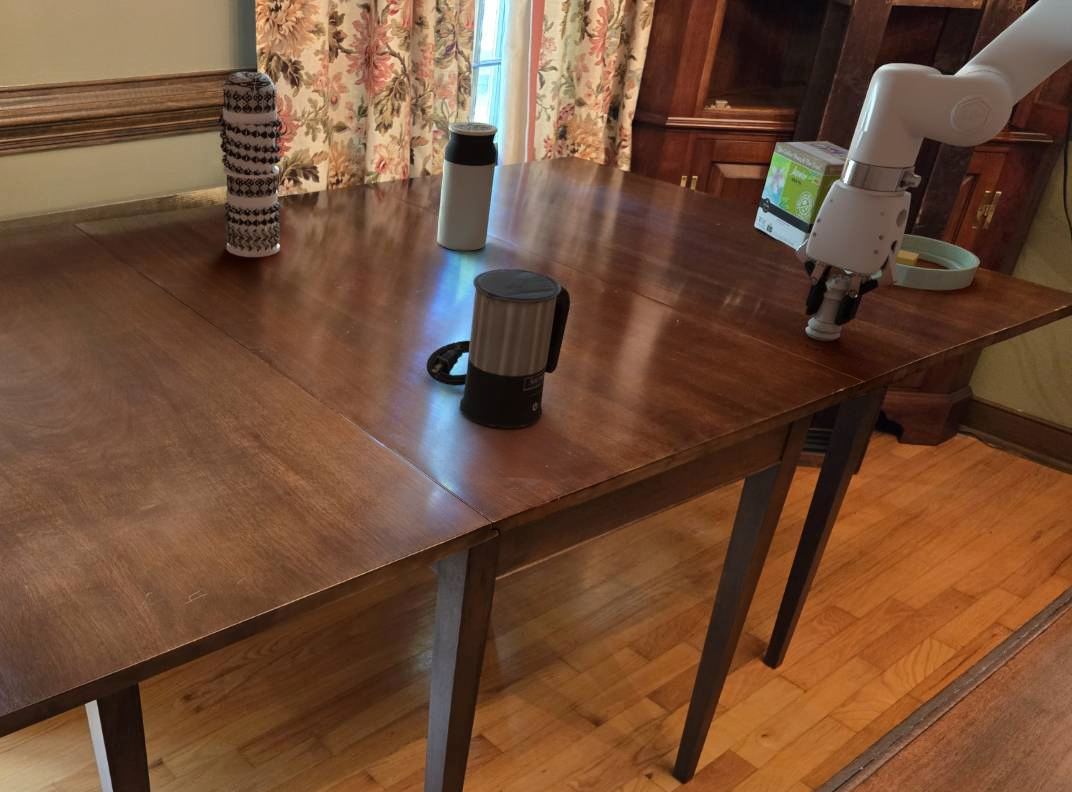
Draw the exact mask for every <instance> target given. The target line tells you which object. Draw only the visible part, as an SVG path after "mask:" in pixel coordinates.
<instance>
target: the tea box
mask: <svg viewBox="0 0 1072 792" xmlns="http://www.w3.org/2000/svg"><path fill="white" fill-rule="evenodd" d="M775 143H776V144H775V146H774V151H773V153H772V156H771V157H772V158H771V162H770V166H769V170H768V173H767V176H766V180H765V185H764V188H763V191H762V195H761V199H760V202H759V207H758V209H757V213H756V217H755V221H754V228H756V229H758V230H760V231H762V232H764V233H766V234H767V235H768V236H770V237H771V238H773V239H775V240H776V241H780V242H782V243H784V244H785V245H787V246H788V247H791V248H793V249H794V250H795V251H796V250H797V249H798V248H799V247H800V246H801V245H802V244H803V243H804V242H805V241H806V240H807V239H808V238H809V237H810V234H811V231H812V228H813V225H814V223H815V220H816V218H817V215H818V213H819V211H820V208H821V206H822V204H823V202H824V200H825V198H826V196H827V194H828V192H829V190H830V189H831V187H832V185H833V183H834V182H835V181H836V180H839V179H840V177H841V174H842V171H843V168H844V165H845V161H846V158H847V156H848V152H849V149H846V148H843V147H841V146H839V145H837V144H835V143H832V142H829V141H828V140H824V141H823V140H822V141H788V142H787V141H785V142H784V141H783V142H780V141H777V142H775Z"/></svg>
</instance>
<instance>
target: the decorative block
mask: <svg viewBox="0 0 1072 792" xmlns="http://www.w3.org/2000/svg"><path fill="white" fill-rule="evenodd" d="M918 257H919V254H918V253H913V252H908V251H903V250H899V253H898V256H897V258H896V261H895V263H898V264H902V265H907V266H912V267H916V264H917V262H918V259H919V258H918Z"/></svg>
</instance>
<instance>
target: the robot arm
mask: <svg viewBox="0 0 1072 792" xmlns="http://www.w3.org/2000/svg"><path fill="white" fill-rule="evenodd" d="M1070 61H1072V0H1038V1H1036V2H1035V4H1033V5H1032V6H1031V7H1030V8H1029V9H1028V10H1026V11H1025V12H1024V13H1023V14H1021V15H1020V16H1019V17H1018V18H1017V19H1016V20H1014V22H1013V23H1011V24H1010V25H1008V27H1007V28H1006V29H1005V30H1003V31H1002V32H1001V33H1000V34H999V35H998V36H996V37H995V38H994V39H993V40H992V41H991V42H990V43H988V44H987V45H986V46H985V47H984V48H983V49H982V50H980V51H979V52H978V53H977V54H976V55H975V56H974V57H972V59H970V60H969V61H968V62H967V63H966V64H965V65H964V66H963V67H961V68H960V69H959V70H958V71H957V72H956V73H955V74H953V75H952V74H951V75H950V74H942V72H941V71H940V70H938V69H937V68H935V67H931V66H927V65H922V64H917V63H915V64H914V63H903V62H901V63H900V62H899V63H897V62H896V63H895V62H894V63H887V64H883V65H881V66H880V67H878V68H877V69H876V71H875V72H874V73H873V75H872V77H871V80H870V83H869V85H868V89H867V92H866V96H865V98H864V101H863V105H862V108H861V111H860V113H859V118H858V121H857V124H856V127H855V131H854V133H853V137H852V140H851V143H850V146H849V149H848V151H849V152H848V156H847V158H846V161H845V165H844V168H843V171H842V174H841V177H840V179H839V180H836V181H835V182H834V183H833V185H832V187H831V189H830V190H829V192H828V194H827V196H826V198H825V200H824V202H823V204H822V206H821V208H820V211H819V213H818V215H817V218H816V220H815V223H814V225H813V228H812V231H811V234H810V237H809V238H808V239H807V240H806V241H805V242H804V243H803V244H802V245H801V246H800V247H799V248H798V249H797V250H796V249H795V251H794V255H795V257H796V259H798V260H799V262H800V263H801V264H802V265H803V266H804V269H805V272H806V273H807V275H808V278H809V279H808V282H809V284H810V285H811V286H810V289H809V293H808V296H807V298H806V301H805V306H806V310H805V312H804V314H805V315H806V316H809V317H810V316H814V315H815V314H816V313H817V312H818V310H819V308H820V306H821V304H822V302H823V299H824V293H825V292H826V291H827V287H826V284H825V282H827V281H828V280H829V279H830V276H831V275H832V272H833V270H834V268H838V269H841V270H843V269H844V270H847V271H850V272H853V273H851V278H850V279H851V282H850V289H849V290H848V291H847V294H845V296H844V297H843V298H842V301H841V304H840V307H839V310H838V313H837V316H836V319H835V322H834V323H835V325H838V326H841V325H842V326H843V325H846V324H848V323H850V322H851V321H852V320H854V319H855V317H856V315H857V312H858V309H859V307H860V303H861V301H862V299H863V296H864V295H865V294H868V293H869V292H871V291H873V290H875V289H880V288H883V287H887V286H891V285H895V284H894V283H896V282H897V281H898V275H897V270H896V265H895V261H896V258H897V256H898V253H899V249H900V246H901V242H902V239H903V235H904V234H905V232H906V231H905V230H906V227H907V222H908V218H909V213H910V207H911V199H912V193H911V192H909V191H906V190H907V189H908V188H917V187H918V186H919V185H920V183H921V181H922V176H921V175H919V174H916V173H915V169H916V166H915V163H916V161H917V157H918V156H919V152H920V149H921V147H922V144H923V141H924V138H925V139H929V140H933V141H937V142H940V143H943V144H946V145H950V146H955V147H965V148H967V147H968V148H969V147H975V146H979V145H981V144H984V143H986V142H987V143H988V141H990V140H992V139H993V138H995V137H996V136H997V135H999V133H1000V132H1001V131H1002V130H1003V129H1004V128H1005V126H1006V125H1007V123H1008V122H1009V120H1010V118H1011V115H1012V111H1013V107H1014V106H1015V105H1016V104H1017V103H1019V102H1020V101H1021V100H1022V99H1024V98H1025V97H1026V96H1027V95H1029V93H1031V92H1032V91H1033V90H1035V88H1037V87H1038V86H1039V85H1040V84H1041V83H1043V82H1044V81H1045V80H1047V78H1049V77H1050V76H1052V74H1054V73H1055V72H1057V71H1058V70H1059V69H1061V68H1062V67H1063V66H1064V65H1066V64H1068V63H1069V62H1070ZM844 270H843V271H844ZM879 270H881V271H882V275H881V277H878V278H874V279H872V278H871V276H872V275H875V274H877V273H878V272H879Z"/></svg>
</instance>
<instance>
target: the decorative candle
mask: <svg viewBox="0 0 1072 792" xmlns="http://www.w3.org/2000/svg"><path fill="white" fill-rule="evenodd" d="M220 87H221V88H222V91H223V108H222V114H220V115H219V118H218V119H217V121H218V123H219V126H221V128H222V129H221V130H220V133H219V138H220V139H221V144H220V149H221V151H222V152H223V153H224V154H223V155H222V159H221V162H222V164H223V166H224V167H223V173H224V174H225V175H226V191H225V197H226V198H225V199H226V202H225V203H224V205H223V206H224V208H225V210H226V213H225V214H224V218H225V219H226V220H227V221H228V222H227V223H226V224H225V225H224V229H225V231H226V235H225V240H226V250H227V252H229V253H230V254H232V255H235V256H238V257H244V258H263V257H269V256H272V255H275V254H277V253H279V252H280V249H281V247H280V246H281V245H280V244H279V243H280V240H281V236H280V231H281V226H280V223H279V222H278V221H279V220H280V218H281V215H280V213H279V210H280V209H281V204H280V203H279V202H278V200H279V199H278V197H279V196H278V193H279V192H278V190H277V176H278V175H279V174H280V168H279V166H277V164H278V163H280V162H281V161H282V160H281V157H280V156H279V155H277V153H279V152H280V151H281V149H282V148H281V146H280V145H279V144H278V143H276V140H278V139H279V138H280V137H282V132H281V131H280V130H279V129H278V128H279V127H281V126H282V123H283V121H282V120H281V119H279V118H278V109H277V107H276V99H277V98H276V89H277V88H278V85H276V84H274V83H273V81H272V79H271V77H270V76H269V75H268V74H265V73H263V72H256V71H238V72H233V73H230V74H229V75H228V77H227V79H226V81H225V82H224V83H222V84H221V85H220Z"/></svg>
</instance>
